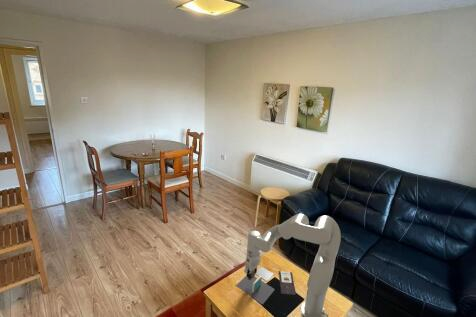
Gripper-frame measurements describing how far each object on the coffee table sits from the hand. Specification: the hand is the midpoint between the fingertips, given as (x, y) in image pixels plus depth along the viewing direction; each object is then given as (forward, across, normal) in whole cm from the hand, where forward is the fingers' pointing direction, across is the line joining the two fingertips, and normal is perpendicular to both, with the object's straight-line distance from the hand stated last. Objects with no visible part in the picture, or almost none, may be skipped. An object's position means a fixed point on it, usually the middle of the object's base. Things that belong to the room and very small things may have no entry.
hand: (251, 274), depth 149 cm
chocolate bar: (+9, +17, -16) cm, 25 cm away
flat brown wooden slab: (+2, 0, 0) cm, 2 cm away
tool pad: (+8, +13, -2) cm, 15 cm away
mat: (+8, 0, -4) cm, 9 cm away
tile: (+8, 0, -4) cm, 9 cm away
